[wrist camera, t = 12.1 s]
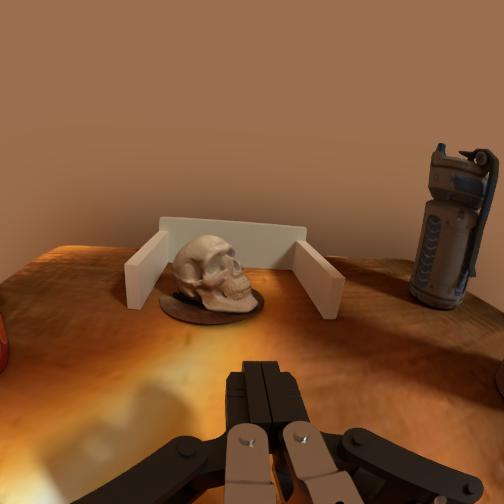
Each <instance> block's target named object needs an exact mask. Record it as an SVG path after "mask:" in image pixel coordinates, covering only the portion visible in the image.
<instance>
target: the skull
mask: <svg viewBox="0 0 504 504" xmlns="http://www.w3.org/2000/svg"><path fill="white" fill-rule="evenodd" d="M242 271H243V265H242V263H240V262H239V261H237V260H236V257H235V249H234V248H233V247H232V246H231V245H230V244H228V243H227V242H226V241H225V240H223V239H222V238H220V237H217V236H212V235H203V236H200V237H197V238H195V239H193V240H191V241H190V242H188V243H187V244H186V245H184V246H183V247H182V248H181V249H180V250H179V252H178V253H177V255H176V256H175V258H174V261H173V263H172V272H173V276H174V279H175V282H176V284H177V286H178V289H179V293H177V292H174V293H173V294H172V295H173V296H174V297H172V296H171V295H170V294H168V295H166V296H164V295H163V297H162V298H160V306H161V308H162V309H163V310H164V311H165V312H166V313H168V314H169V315H171V316H173V317H175V318H178V319H181V320H184V321H189V322H193V323H203V324H220V323H223V324H224V323H229V322H235V321H238V320H242V319H246V318H248V317H250V316H252V315H255V314H256V313H258V312H259V311H260V310H261V309H262V307H263V305H264V299H263V296H262V295H261V294H260V293H259V292H258V291H256V290H254V289H252V288H251V282H250V281H249V279H248V278H247V277H245V276H244V274H243V272H242Z"/></svg>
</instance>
